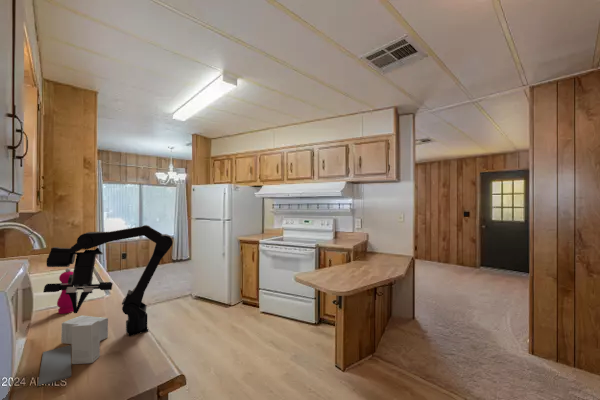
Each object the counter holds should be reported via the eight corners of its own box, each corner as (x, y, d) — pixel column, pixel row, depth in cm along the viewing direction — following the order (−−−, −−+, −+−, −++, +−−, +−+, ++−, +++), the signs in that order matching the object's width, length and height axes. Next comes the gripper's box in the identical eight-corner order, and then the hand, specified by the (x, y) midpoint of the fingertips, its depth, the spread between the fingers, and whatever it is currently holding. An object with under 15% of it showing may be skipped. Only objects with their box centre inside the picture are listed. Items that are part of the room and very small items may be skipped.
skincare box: (100, 356, 89) (101, 319, 89) (91, 364, 84) (91, 325, 84) (80, 357, 88) (80, 319, 88) (69, 365, 84) (70, 325, 84)
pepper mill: (61, 309, 128) (62, 267, 129) (80, 307, 131) (80, 266, 131) (53, 315, 122) (54, 270, 122) (72, 313, 124) (73, 269, 124)
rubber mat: (70, 346, 95) (70, 344, 95) (71, 376, 78) (71, 374, 78) (43, 353, 90) (43, 351, 90) (37, 387, 74) (37, 385, 74)
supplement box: (60, 343, 97) (89, 347, 94) (61, 322, 97) (89, 325, 94) (81, 334, 104) (108, 337, 101) (81, 314, 104) (108, 317, 102)
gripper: (114, 267, 110) (108, 309, 106) (54, 268, 100) (44, 313, 95) (115, 266, 101) (108, 311, 97) (48, 266, 91) (37, 316, 87)
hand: (75, 313), depth 94 cm, fingers closed
